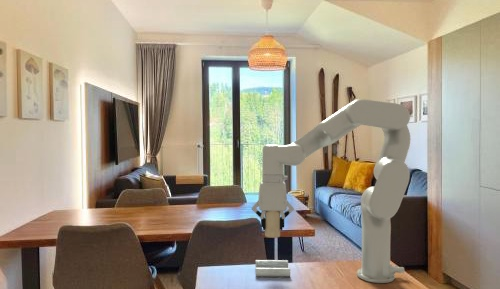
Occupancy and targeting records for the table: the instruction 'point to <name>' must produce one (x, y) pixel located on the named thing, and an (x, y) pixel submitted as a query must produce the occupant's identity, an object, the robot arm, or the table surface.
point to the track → (272, 269)
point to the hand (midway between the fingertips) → (272, 228)
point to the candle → (272, 224)
